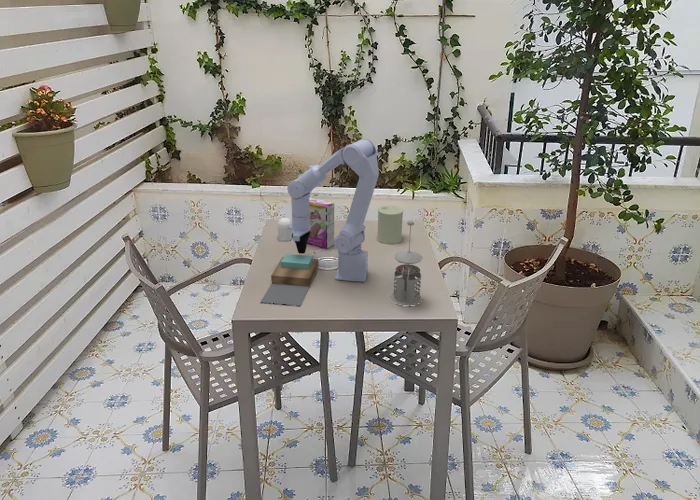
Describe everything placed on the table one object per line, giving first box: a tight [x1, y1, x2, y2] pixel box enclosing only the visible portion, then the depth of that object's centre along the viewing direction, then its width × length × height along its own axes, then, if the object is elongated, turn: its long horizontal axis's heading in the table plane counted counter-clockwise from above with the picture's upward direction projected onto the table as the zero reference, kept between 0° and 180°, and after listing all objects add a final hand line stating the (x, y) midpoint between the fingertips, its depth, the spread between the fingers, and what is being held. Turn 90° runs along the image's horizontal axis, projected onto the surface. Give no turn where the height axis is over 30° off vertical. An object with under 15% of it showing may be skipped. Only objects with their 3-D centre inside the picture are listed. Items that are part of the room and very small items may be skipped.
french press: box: [390, 219, 424, 306], centre depth 164 cm, size 10×12×25 cm
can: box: [376, 205, 404, 245], centre depth 208 cm, size 9×9×12 cm
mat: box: [260, 282, 310, 307], centre depth 171 cm, size 12×12×1 cm
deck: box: [270, 256, 320, 288], centre depth 182 cm, size 12×14×3 cm
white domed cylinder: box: [277, 217, 293, 242], centre depth 209 cm, size 5×5×8 cm
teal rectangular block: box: [280, 253, 314, 270], centre depth 183 cm, size 9×6×2 cm, turn 81°
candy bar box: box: [307, 196, 335, 249], centre depth 203 cm, size 11×5×16 cm, turn 58°
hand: (301, 252), depth 189 cm, fingers closed
